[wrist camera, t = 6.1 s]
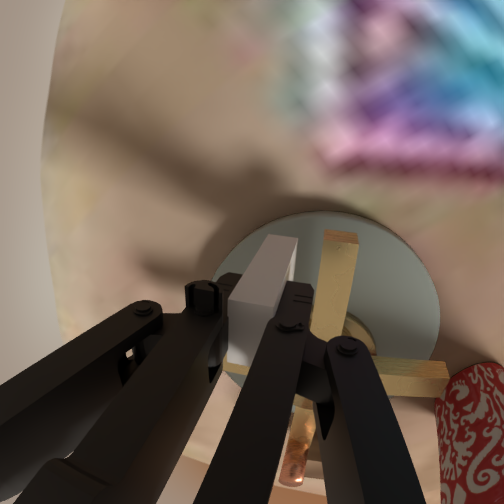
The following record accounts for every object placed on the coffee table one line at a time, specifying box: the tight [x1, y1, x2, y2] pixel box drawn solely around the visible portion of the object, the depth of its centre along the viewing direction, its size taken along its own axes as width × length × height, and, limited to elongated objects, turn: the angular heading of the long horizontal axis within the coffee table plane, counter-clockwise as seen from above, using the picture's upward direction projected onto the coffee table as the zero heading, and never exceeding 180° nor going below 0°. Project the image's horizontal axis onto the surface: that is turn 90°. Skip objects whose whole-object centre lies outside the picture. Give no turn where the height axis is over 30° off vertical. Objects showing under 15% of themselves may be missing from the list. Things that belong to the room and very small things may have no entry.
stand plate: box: [211, 211, 440, 413], centre depth 21 cm, size 16×16×2 cm
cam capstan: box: [223, 229, 450, 487], centre depth 17 cm, size 16×16×7 cm
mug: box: [434, 363, 504, 504], centre depth 15 cm, size 13×9×14 cm
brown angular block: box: [304, 429, 324, 479], centre depth 23 cm, size 4×8×5 cm, turn 87°
